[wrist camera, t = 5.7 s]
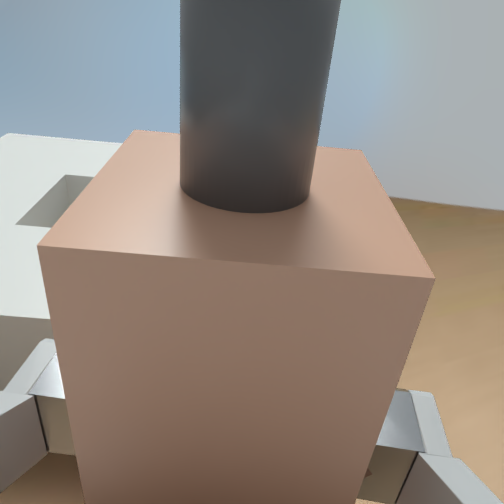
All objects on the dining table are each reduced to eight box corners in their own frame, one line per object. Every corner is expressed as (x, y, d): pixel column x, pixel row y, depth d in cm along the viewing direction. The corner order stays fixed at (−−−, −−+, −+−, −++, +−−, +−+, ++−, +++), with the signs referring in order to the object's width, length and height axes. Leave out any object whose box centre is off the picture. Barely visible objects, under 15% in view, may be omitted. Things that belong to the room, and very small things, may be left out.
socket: (269, 216, 33) (276, 157, 31) (276, 425, 18) (291, 338, 15) (20, 195, 32) (8, 133, 30) (-199, 390, 17) (-259, 294, 15)
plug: (286, 496, 15) (400, -27, 7) (294, 671, 11) (545, -31, 4) (152, 486, 15) (125, -54, 7) (113, 660, 11) (-26, -91, 3)
